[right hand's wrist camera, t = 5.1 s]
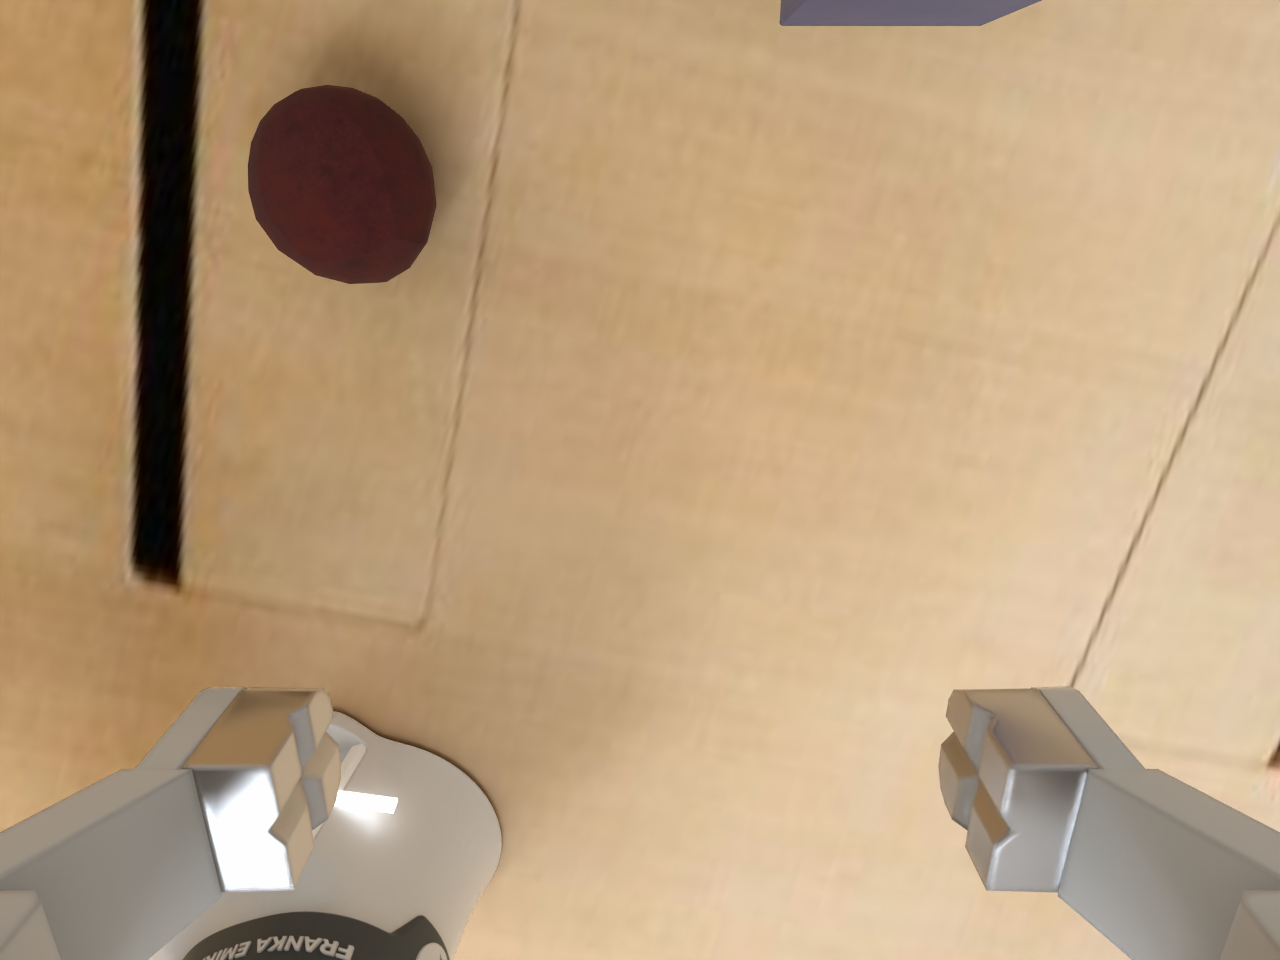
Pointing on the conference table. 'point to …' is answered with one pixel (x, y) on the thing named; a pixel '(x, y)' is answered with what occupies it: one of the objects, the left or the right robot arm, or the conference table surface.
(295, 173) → the potato
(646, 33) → the conference table surface
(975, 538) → the conference table surface
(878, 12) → the box
